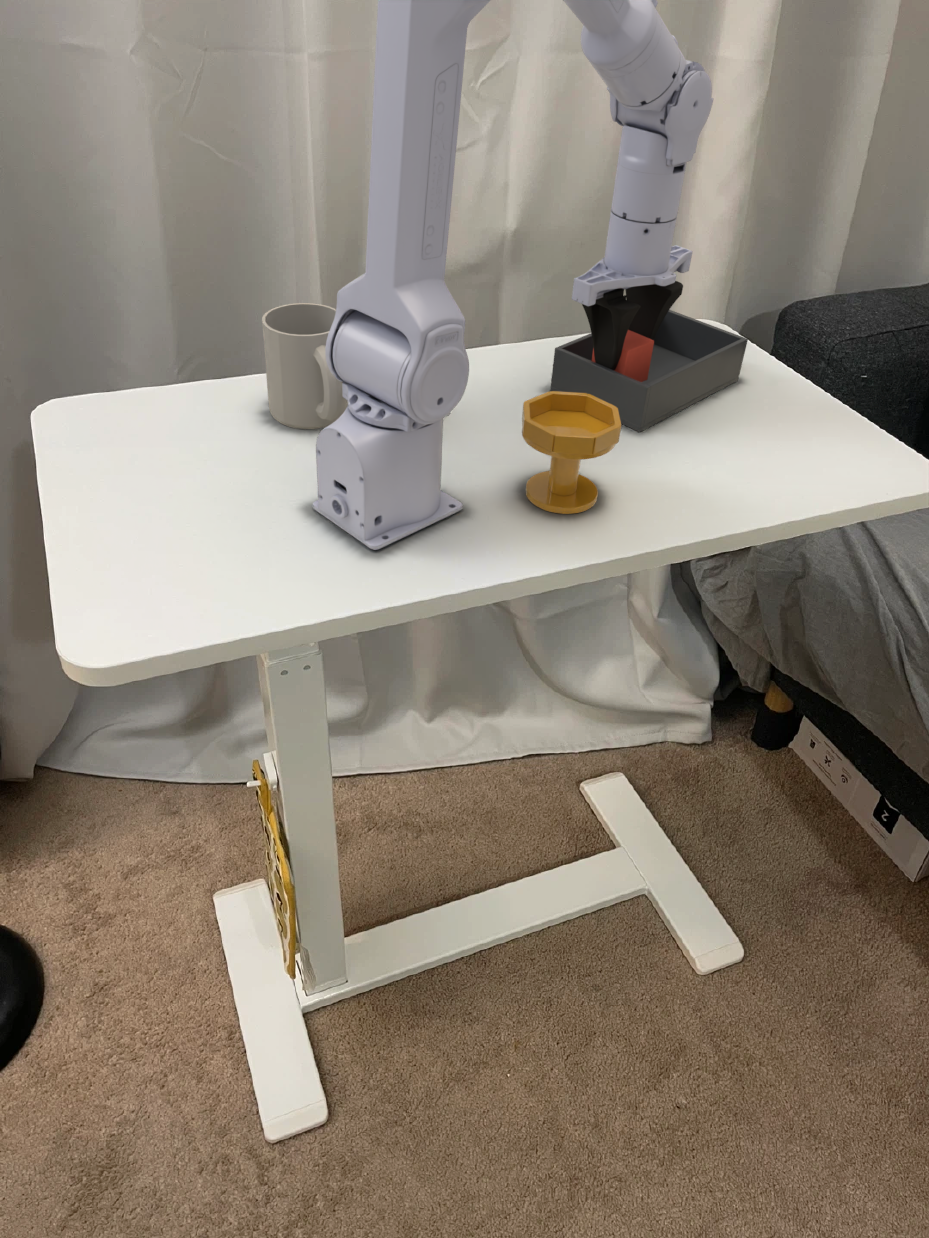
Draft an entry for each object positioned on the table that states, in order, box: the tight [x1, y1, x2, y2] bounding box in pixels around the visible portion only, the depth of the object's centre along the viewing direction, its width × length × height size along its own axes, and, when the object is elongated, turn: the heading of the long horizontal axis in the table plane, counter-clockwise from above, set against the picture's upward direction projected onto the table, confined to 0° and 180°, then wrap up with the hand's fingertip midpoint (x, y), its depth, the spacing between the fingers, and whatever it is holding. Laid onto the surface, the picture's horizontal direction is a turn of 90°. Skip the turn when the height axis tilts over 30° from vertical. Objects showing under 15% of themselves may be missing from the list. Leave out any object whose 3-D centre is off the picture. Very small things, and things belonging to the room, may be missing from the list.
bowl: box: [521, 390, 622, 515], centre depth 81 cm, size 8×8×8 cm
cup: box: [261, 302, 348, 430], centre depth 89 cm, size 7×10×9 cm
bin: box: [549, 309, 749, 433], centre depth 99 cm, size 17×11×4 cm, turn 136°
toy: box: [592, 330, 654, 382], centre depth 95 cm, size 4×4×4 cm
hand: (620, 360), depth 95 cm, fingers closed on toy, 4 cm apart
